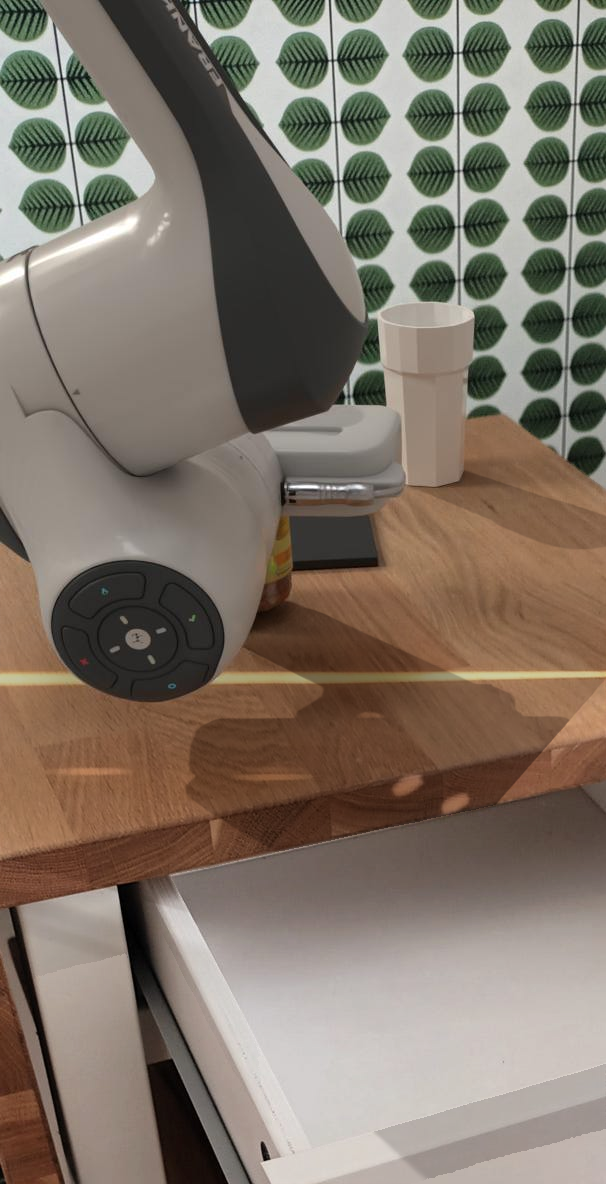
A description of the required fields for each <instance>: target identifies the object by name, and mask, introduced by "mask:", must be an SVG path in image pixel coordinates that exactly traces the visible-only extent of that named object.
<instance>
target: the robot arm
mask: <svg viewBox="0 0 606 1184" xmlns="http://www.w3.org/2000/svg"><path fill="white" fill-rule="evenodd" d="M38 2H39V3H40V5H41V6H42V8H43V9H44V11H45V12H46V14H47V15H48V17H49V18H50V20H51V21H52V23H53V24H54V26H55V27H56V29H57V30H58V31H59V33H60V35H61V36H62V38H63V39H64V41H65V42H66V43H67V45H68V46H69V48H70V49H71V51H72V53H74V55H75V57H76V58H77V59H78V61H79V62H80V64H81V65H82V67H83V68H84V70H85V72H87V74H88V76H89V77H90V79H91V80H92V82H93V83H94V85H95V86H96V87H97V89H98V90H99V92H100V93H101V95H102V96H103V98H104V99H105V101H106V102H107V104H108V105H109V106H110V108H111V110H112V111H113V112H114V114H115V115H116V117H117V118H118V120H119V121H120V123H121V124H122V126H123V127H124V129H125V130H126V132H127V133H128V134H129V136H130V137H131V139H132V140H133V142H134V143H135V145H136V146H137V148H138V149H139V151H140V152H141V153H142V155H143V157H144V158H145V160H146V161H147V163H148V164H149V166H150V167H151V169H152V171H153V174H154V180H153V183H152V185H151V186H150V187H149V189H148V190H147V191H146V192H145V193H144V194H142V195H141V196H140V197H139V198H137V199H135V200H133V201H131V202H129V203H126V204H125V205H123V206H120V207H118V208H116V209H114V210H112V211H110V212H108V213H106V214H103V215H102V216H99V217H97V218H96V219H93V220H91V221H88V222H86V223H84V224H83V225H81V226H78V227H76V228H74V229H72V230H70V231H68V232H66V233H64V234H62V235H59V236H58V237H55V238H53V239H51V240H49V241H47V242H45V243H42V244H41V245H40V244H39V245H38V244H36V245H35V244H34V245H32V246H30V247H28V248H26V249H24V250H22V251H20V252H17V253H16V254H13V255H11V256H9V257H6V258H5V259H3V260H1V261H0V543H2V544H3V545H4V546H5V547H6V548H8V549H9V550H10V551H12V552H13V553H14V554H16V555H17V556H18V557H20V558H21V559H23V560H24V561H26V562H28V563H29V564H30V565H31V568H32V571H33V574H34V578H35V582H36V583H35V584H36V587H37V594H38V600H39V601H38V602H39V609H40V615H41V621H42V625H43V628H44V632H45V634H46V638H47V639H48V642H49V644H50V646H51V647H52V650H53V651H54V653H55V654H56V656H57V658H58V659H59V661H60V662H61V664H62V665H63V666H64V667H65V668H66V670H67V671H68V672H70V674H71V675H72V676H74V677H75V678H76V679H77V680H79V682H81V683H82V684H84V685H86V686H88V687H89V688H91V689H92V690H95V691H97V692H99V693H101V694H103V695H105V696H109V697H112V698H115V699H119V700H124V701H128V702H129V701H130V702H135V703H136V702H137V703H163V702H168V701H172V700H177V699H181V698H184V697H187V696H189V695H192V694H195V693H197V692H198V691H200V690H202V689H203V688H205V687H207V686H209V685H210V684H211V683H212V682H214V681H215V680H216V679H217V678H218V677H220V675H221V674H223V672H224V671H225V670H226V669H227V668H228V667H230V665H231V664H232V662H233V661H234V659H235V658H236V657H237V655H238V654H239V652H240V651H241V649H242V648H243V646H244V644H245V642H246V640H247V638H248V636H249V634H250V631H251V629H252V627H253V624H254V623H255V622H254V621H255V619H256V616H257V613H258V612H257V610H258V607H259V604H260V600H261V596H262V592H263V588H264V584H265V578H266V570H267V563H268V561H269V559H270V556H271V553H272V550H273V546H274V542H275V538H276V534H277V530H278V525H279V521H280V517H281V516H329V517H350V516H362V515H372V514H375V513H377V512H379V511H381V510H382V509H384V508H385V507H386V506H387V505H388V504H389V503H390V501H391V500H392V499H395V498H400V497H401V496H402V495H403V494H404V491H405V488H406V486H407V485H406V474H405V471H404V468H403V467H402V424H401V416H400V414H399V413H398V412H396V411H395V410H393V409H391V408H388V407H387V406H385V405H380V404H377V405H376V404H335V402H336V401H337V400H338V398H339V397H340V395H341V393H342V392H343V390H344V388H345V386H346V384H347V382H349V379H350V377H351V375H352V374H353V372H354V369H355V367H356V364H357V362H358V359H359V357H360V355H361V352H362V350H363V346H364V344H365V340H366V337H367V335H368V334H367V333H368V331H369V328H370V317H369V313H368V309H367V305H366V302H365V294H364V290H363V285H362V281H361V277H360V275H359V272H358V269H357V266H356V263H355V261H354V259H353V257H352V254H351V252H350V249H349V248H348V245H347V244H346V241H345V239H344V237H343V235H342V234H341V233H340V231H339V228H338V227H337V226H336V224H335V223H334V221H333V219H332V218H331V216H330V215H329V213H328V212H327V210H326V209H325V208H324V207H323V205H322V204H321V203H320V201H318V199H317V198H316V196H315V195H314V194H313V193H312V192H311V190H310V189H309V188H308V187H307V186H306V185H305V184H304V183H303V182H302V180H301V179H300V178H299V177H298V176H297V174H296V173H295V172H294V170H293V169H292V167H291V166H290V165H289V163H288V162H287V160H286V159H285V158H284V156H283V155H282V153H281V152H280V151H279V148H277V146H276V145H275V143H274V142H273V141H272V139H271V138H270V136H269V135H268V134H267V132H266V130H265V129H264V128H263V126H262V125H261V124H260V122H259V120H257V118H256V116H255V115H254V113H253V112H252V110H251V109H250V107H249V106H248V105H247V103H246V101H245V100H244V97H242V95H241V94H240V91H239V90H238V89H237V87H236V86H235V84H234V82H233V81H232V79H231V78H230V76H229V75H228V73H227V71H226V70H225V68H224V66H222V64H221V62H220V60H219V59H218V57H217V56H216V54H215V53H214V51H213V49H212V47H210V45H209V43H208V42H207V40H206V39H205V37H204V35H203V34H202V32H201V30H200V29H199V27H198V26H197V25H196V23H195V21H194V20H193V18H192V17H191V15H190V14H189V12H188V10H187V8H186V7H185V6H184V4H183V2H182V0H38Z"/></svg>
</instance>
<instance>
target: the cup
mask: <svg viewBox="0 0 606 1184" xmlns="http://www.w3.org/2000/svg"><path fill="white" fill-rule="evenodd" d="M475 317H476V316H475V314H474V311H473V310H471V309H470V308H468V307H467V306H464V305H459V304H455V303H449V302H440V301H413V302H405V303H404V302H403V303H396V304H393V305H389V306H386V307H383V308H382V309H380V310H378V311H376V319H377V331H378V333H377V334H378V345H379V356H380V364H381V366H382V369H383V379H384V389H385V390H384V391H385V402H386V403H385V405H386V407H388V408H391V409H393V410H395V411H396V412H398V413H399V414H400V416H401V424H402V467H403V468H404V471H405V474H406V485H405V486H412V487H413V486H414V487H429V488H437V487H441V486H446V485H449V484H453V483H457V482H460V481H461V478H462V476H463V474H464V472H465V441H466V422H467V404H468V403H467V402H468V386H469V385H468V384H469V383H468V382H469V366H470V365H471V364H472V363H473V360H474V337H475V319H476V318H475Z"/></svg>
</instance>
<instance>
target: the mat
mask: <svg viewBox="0 0 606 1184" xmlns="http://www.w3.org/2000/svg"><path fill="white" fill-rule="evenodd" d="M289 523H290V536H291V548H292V560H293V568H292V570H291V571H298V570H316V569H319V570H320V569H334V568H335V569H339V568H354V567H355V568H357V567H358V568H359V567H374V566H375V567H377V566H379V556H378V552H377V547H376V543H375V539H374V534H373V528H372V524H371V521H370V514H368V515H362V516H350V517H329V516H289Z"/></svg>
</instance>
